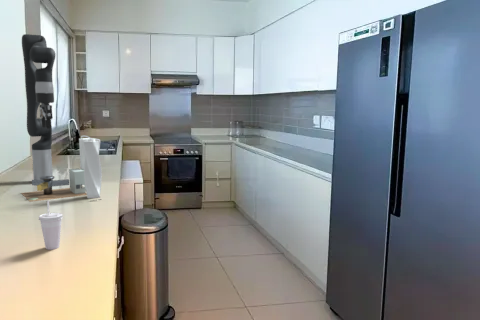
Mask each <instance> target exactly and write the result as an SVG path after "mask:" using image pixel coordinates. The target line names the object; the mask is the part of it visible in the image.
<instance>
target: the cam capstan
mask: <svg viewBox="0 0 480 320" xmlns="http://www.w3.org/2000/svg"><path fill="white" fill-rule="evenodd" d="M40 179H41V180H37V179H34V178H33V179H32V180H31V185H32V186H35V187H36V191H43V192H44V194H52V190H53V187H60V186H61V187H62V186H70V178H65V179H55V176H54V175H53V176H43V177H40ZM52 179H53V181H52ZM54 179H55V180H54Z"/></svg>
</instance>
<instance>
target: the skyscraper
mask: <svg viewBox="0 0 480 320" xmlns="http://www.w3.org/2000/svg"><path fill="white" fill-rule="evenodd" d="M82 138H90V139H88V141H83V139H82ZM91 138H92V139H91ZM80 139H82V142H83V148H84V153H85V162H84V178H85V186H86V190H85V193H87V195H86V198H87V199H92V200H91V202H93V201H96V199H98V198H100V199H99V201H102V199H101V190H102V178H103V177H102V173H103V171H102V163H101V159H100V149H101V139H99V138H95V137H90V136H89V135H84V134H83V135H81V136H80ZM95 198H96V199H95Z"/></svg>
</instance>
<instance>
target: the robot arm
mask: <svg viewBox="0 0 480 320" xmlns="http://www.w3.org/2000/svg"><path fill="white" fill-rule="evenodd" d="M21 49H22V57H23V64H24V84H25V85H24V86H25V96H26V130H27V133H28V135H29V136H30V137H32V138H34V137H35V138H36V137H40V139H39V140H38V141H36V142H33V143H32V144H31V154H32V155H31V156H32V157H31V158H32V172H33V173H32V174H33V175H32V176H33V180H34V179H37V180H41V179H40V177H43V176H54V174H53V157H52V143H53V142H52V141H53V138H52V137H53V133H52V131H53V128H52V127H53V126H52V120H53V105H50V104H51V103H52V104H53V103H54V102H55V94H54V92H55V90H54V83H53V68H54V63H55V60H56V52H55V49H53V48H52V47H48V46H47V41H46V38H45V37H44V36H43V35H40V34H30V33H29V34H22V36H21ZM35 63H36V64H46V66H45V67H40V68H37V66H36V65H35ZM38 109H39V118H38V117H37V116H38ZM53 180H54V179H52V181H53Z"/></svg>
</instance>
